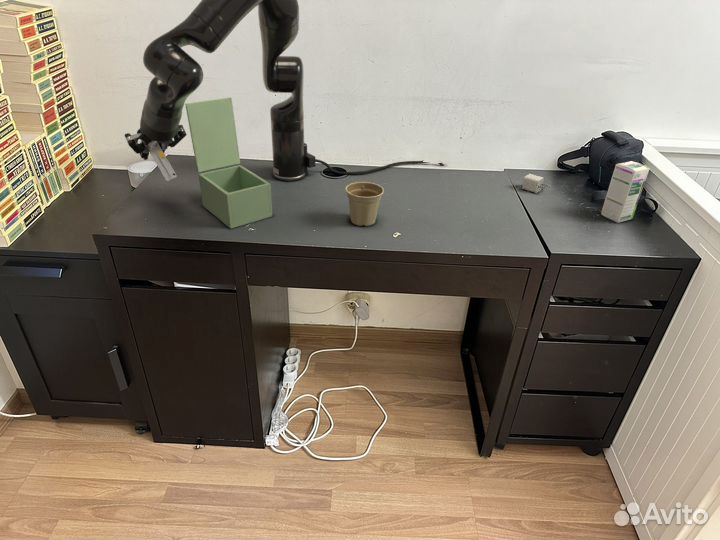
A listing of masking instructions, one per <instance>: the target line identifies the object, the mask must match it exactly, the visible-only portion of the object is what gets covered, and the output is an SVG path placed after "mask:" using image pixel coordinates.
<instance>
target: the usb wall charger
mask: <svg viewBox="0 0 720 540" xmlns="http://www.w3.org/2000/svg"><path fill="white" fill-rule="evenodd" d="M544 181H545V178H544V177H543V176H539V175H535V174H532V173H528V174H527V175H525V176H524V178H523V182H522V185H521V186H522V187H521V190H525V191H528V192H531V193H534V194H538V193H539V192H541V190H545V191H547V190H548V189H550V188H551V185H549V184H545V183H544Z"/></svg>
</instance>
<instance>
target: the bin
mask: <svg viewBox="0 0 720 540" xmlns="http://www.w3.org/2000/svg"><path fill="white" fill-rule="evenodd" d="M197 174H198V182H199V188H200V196H201V204H202V207H204V208H205V209H206V210H207V211H209V212H210V213H211V214H212V215H214V216H215V218H217V219H218V220H219V221H220V222H222V223H223V224H224V225H226V227H228V228H229V229H233V228H234V229H235V228H238V227H241V226H244V225H248V224H251V223H255V222H258V221H261V220H265V219H268V218H272V217H273V201H272V184H271V183H270V182H268V181H267V180H265V179H264V178H262V177H260V176H259V175H257V174H255V173H254V172H252V171H251V170H249V169H247V168H246V167H244V166H243V165H242V164H237V165H231V166H227V167H222V168H218V169H213V170H208V171H204V172H199V173H197Z"/></svg>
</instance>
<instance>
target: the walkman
mask: <svg viewBox="0 0 720 540" xmlns="http://www.w3.org/2000/svg"><path fill="white" fill-rule="evenodd" d="M149 155H150V156H151V157H152V159H153V161H154V163H155V164H156V166H157V168H158V169H159V171H160V172H161V174H162V176H163V178H164V179H165V181H166V182H168V181H171V180H172V179H175V178H177V177H178V175H177V174H176V172H175V170H174V169H173V166H172V165H171V163H170V161H169V160H168V158H167V156H166V154H165V153H163V151H162V149H161V147H160V146H159V144H158V143H157V144H155V145H154V147H153V149H150V151H149Z"/></svg>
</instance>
